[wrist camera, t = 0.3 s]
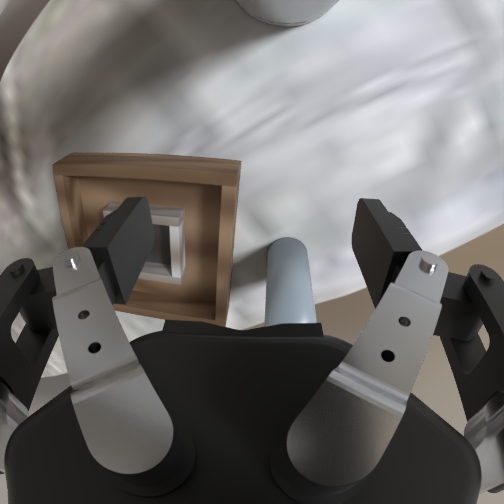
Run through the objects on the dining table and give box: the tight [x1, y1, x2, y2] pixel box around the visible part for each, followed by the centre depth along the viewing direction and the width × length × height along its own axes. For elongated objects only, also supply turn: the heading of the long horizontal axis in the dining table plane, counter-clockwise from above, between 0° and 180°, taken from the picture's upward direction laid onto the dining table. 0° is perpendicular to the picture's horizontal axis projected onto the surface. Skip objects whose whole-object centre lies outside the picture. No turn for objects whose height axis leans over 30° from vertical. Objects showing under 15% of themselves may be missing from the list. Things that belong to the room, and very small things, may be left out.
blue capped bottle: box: [265, 237, 317, 327], centre depth 29 cm, size 4×4×14 cm
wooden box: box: [53, 153, 241, 327], centre depth 33 cm, size 19×19×4 cm
